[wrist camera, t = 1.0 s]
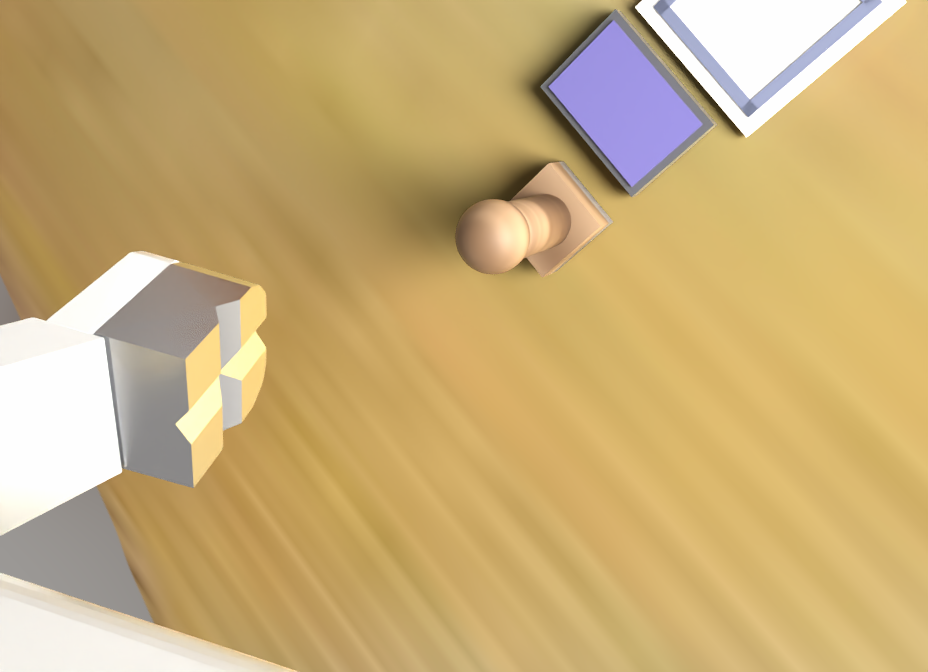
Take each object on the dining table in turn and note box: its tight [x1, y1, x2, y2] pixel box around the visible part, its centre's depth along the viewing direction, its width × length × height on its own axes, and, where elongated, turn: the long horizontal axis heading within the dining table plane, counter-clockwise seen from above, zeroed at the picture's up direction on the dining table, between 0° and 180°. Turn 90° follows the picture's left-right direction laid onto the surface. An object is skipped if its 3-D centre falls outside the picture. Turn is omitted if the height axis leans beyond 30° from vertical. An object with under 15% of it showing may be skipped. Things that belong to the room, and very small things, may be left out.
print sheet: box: [635, 0, 906, 137], centre depth 41 cm, size 9×9×1 cm
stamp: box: [456, 161, 613, 277], centre depth 43 cm, size 4×4×11 cm
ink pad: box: [540, 9, 717, 197], centre depth 45 cm, size 6×8×1 cm
